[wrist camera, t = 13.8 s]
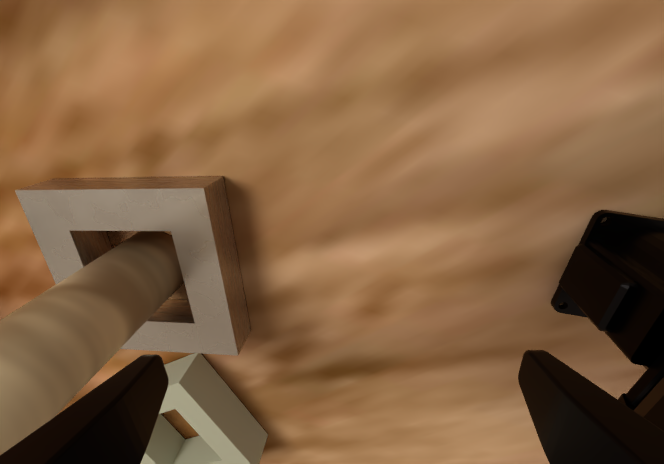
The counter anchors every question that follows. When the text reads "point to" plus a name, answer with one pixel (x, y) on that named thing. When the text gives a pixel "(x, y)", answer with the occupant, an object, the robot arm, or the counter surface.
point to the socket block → (152, 215)
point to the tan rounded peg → (79, 329)
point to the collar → (204, 420)
